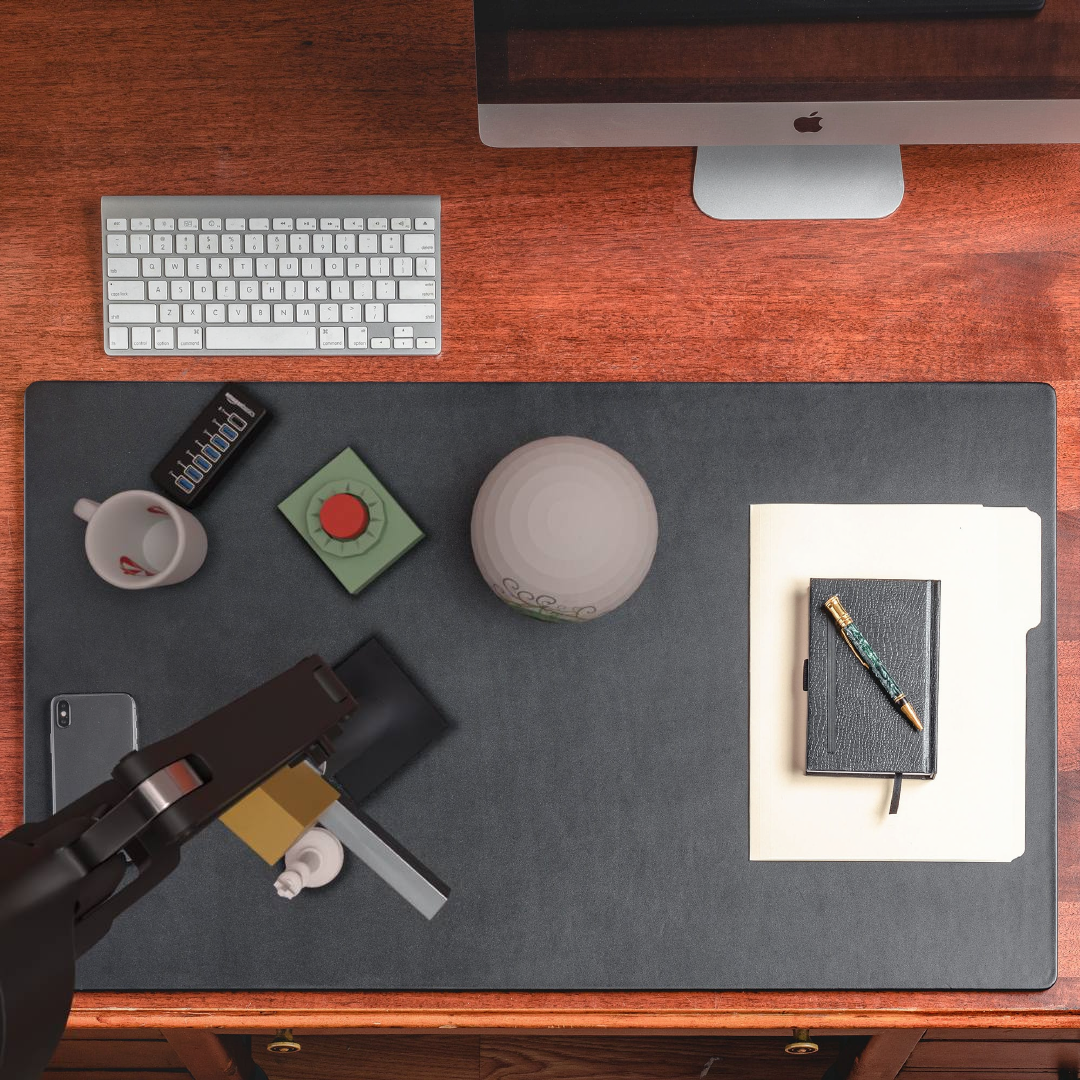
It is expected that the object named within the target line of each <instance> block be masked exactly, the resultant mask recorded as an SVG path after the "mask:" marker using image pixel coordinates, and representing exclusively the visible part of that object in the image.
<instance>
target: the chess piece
mask: <svg viewBox="0 0 1080 1080" xmlns="http://www.w3.org/2000/svg"><path fill="white" fill-rule="evenodd" d="M284 863H285V869H284V871H283V872H282V873H280V874H279V875H278V877H277V879H276V881H275V882H274V883H273V886H274V887H275V888H276V891H277V894H278V895H279V897H281V898H282V897H283V898H288V899H289V900H292V898H294V897H296V896H298V894H299V893H300V892H301V891H302V889H303V888H305V887H306V888H320V887H323V886H324V885H326V884H328V883H330V882H332V881H333V880H334V879H335V878H336V877H337V876H338V874H339V873H340V871H341V869H342V867H343V863H344V848H343V845H342V842H341V841H340V840H338V839H337V838H336V837H335V836H334V835H333V834H332V833H331V832H330V831H328V830H327V829H326V828H325V827H319V826H314V827H313V828H312V829H311V830H310V831H309V832H308V833H307V834H306V835H305V836H304V837H303V838H302V839H301V840H300V841H298V842H297V843H296V844H295V845H294V846H293V847H292V848H291V849H290V850H289V851H288V852H287V853H286V854H285V855H284Z"/></svg>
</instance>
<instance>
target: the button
mask: <svg viewBox="0 0 1080 1080" xmlns="http://www.w3.org/2000/svg"><path fill="white" fill-rule="evenodd" d="M320 520H321V524H322V526H323V528H324V529H325V530H326V531H327V532H328V533H329V534H331V535H333V536H335V537H338V538H341V539H350V538H354V537H356V536H358V535H359V534H360V533H361V532H362V531H363V530H364V528H365V526H366V523H367V512H366V509H365V507H364V506H363V504H362V503H361V502H360V501H358V500H357V499H355V498H354V497H352V496H350V495H346V494H338V495H335V496H332V497H330V498H329V499H328V500H327V501H326V502H325V503H324V504H323V506H322V508H321V512H320Z"/></svg>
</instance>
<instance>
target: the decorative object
mask: <svg viewBox="0 0 1080 1080" xmlns="http://www.w3.org/2000/svg"><path fill="white" fill-rule="evenodd" d="M658 537H659V522H658V513H657V508H656V505H655V501H654V498H653V495H652V493H651V491H650V488H649V486H648V485H647V483H646V481H645V479H644V478H643V477H642V475H641V473H640V472H639V471H638V470H637V469H636V467H635V465H633V464H632V463H631V462H630V461H629V460H628V459H626V458H625V457H624V456H623V455H622V454H621V453H619V452H618V451H616V450H614V449H613V448H611V447H609V446H608V445H605V443H601V442H598V441H596V440H593V439H589V438H587V437H579V436H573V435H559V436H548V437H545V438H541V439H536V440H532V441H531V442H528V443H526V444H524V445H522V446H520V447H517V448H516V449H515V450H513V451H511V452H510V453H508V454H507V455H506V456H505V457H504V458H502V459H501V460H500V461H499V462H498V463H497V464H496V465H495V467H493V469H492V470H490V472H489V473H488V475H487V476H486V478H485V480H484V482H483V483H482V485H481V487H480V488H479V491H478V494H477V496H476V499H475V502H474V504H473V507H472V515H471V522H470V540H471V541H470V542H471V547H472V551H473V556H474V559H475V563H476V565H477V567H478V569H479V572H480V573H481V575H482V578H483V579H484V581H485V582H486V583H487V585H488V586H489V587H490V589H491V590H492V592H493V593H494V594H495V595H496V596H497V597H498V598H500V599H501V600H502V601H503V603H505V604H506V605H507V606H508V607H510V608H512V609H513V610H515V611H516V612H519V613H520V614H522V615H524V616H527V617H529V618H531V619H535V620H538V621H540V622H545V623H552V624H559V625H563V624H564V625H566V624H579V623H584V622H587V621H591V620H595V619H598V618H600V617H602V616H604V615H606V614H608V613H610V612H612V611H614V610H615V609H617V608H618V607H620V606H621V605H622V604H623V603H625V602H626V601H627V600H629V599H630V598H631V596H632V595H633V594H634V593H635V592H636V590H638V589H639V587H640V586H641V584H642V583H643V581H644V579H645V578H646V576H647V575H648V572H649V571H650V568H651V566H652V563H653V560H654V557H655V555H656V551H657V545H658Z"/></svg>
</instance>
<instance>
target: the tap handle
mask: <svg viewBox="0 0 1080 1080" xmlns="http://www.w3.org/2000/svg"><path fill="white" fill-rule="evenodd" d="M218 820H219V821H221V822H222V823H223V824H224V825H225V826H226V827H227V828H229V829H230V830H231V831H232V832H233V833H234V834H235V835H236V836H238V838H240V839H241V840H242V841H243V842H244V843H245V844H246V845H248V847H249V848H251V850H253V851H254V852H255V853H256V854H257V855H258V856H259V857H261V858H262V859H263V860H264V861H265V862H266V863H267V864H268V865H269V866H271V867H272V866H274V865H276V864H277V862H279V860H280V859H282V858H283V857H285V854H286V853H287V852H288V851H289V850H290V849H291V848H292V847H293V846H294V845H295V844H296V843H297V842H298V841H300V840H301V839H302V838H303V837H304V836H305V835H306V834H307V833H308V832H309V831H310V830H311V829H312V828H313V827H316V825H317V824H318V823H319V824H320V825H321V826H322V827H323V828H324V829H326V830H328V831H330V832H331V833H332V834H333V835H334V836H335V837H336V838H337V839H338V840H339V841H340V843H341V844H343V845H344V846H345V847H346V848H347V849H348V850H349V851H351V852H352V853H353V854H354V855H355V856H356V857H357V858H358V859H359V860H360V861H362V862H363V863H364V864H365V865H366V866H367V867H369V868H370V869H371V870H372V871H373V873H375V874H376V875H377V876H379V878H381V879H382V880H383V881H384V882H385V883H386V884H387V885H389V886H390V887H391V888H392V889H393V890H394V891H395V892H396V893H397V894H399V895H400V896H401V897H402V898H403V899H404V900H405V901H406V902H408V903H409V904H410V905H411V906H412V907H413V908H414V909H415V910H416V911H418V912H419V914H421V915H422V916H423V917H424V918H425V919H426V920H428V921H429V922H431V921H432V920H433V919H434V918H435V916H436V915H437V914H438V913H439V912H440V911H441V909H442V908H443V907H444V906H445V905H446V904H447V902H448V901H449V898H450V895H451V891H452V888H451V887H450V886H449V885H448V884H447V883H445V882H444V881H443V879H441V878H439V876H438V875H436V873H434V872H433V871H432V870H431V869H429V867H427V866H426V865H425V864H424V863H423V862H422V861H420V860H419V859H418V857H416V856H415V855H414V854H413V853H412V852H410V851H409V849H407V848H406V847H405V846H404V845H403V844H402V843H400V842H399V841H398V839H396V838H395V837H394V836H393V835H391V834H390V833H389V831H387V830H386V829H385V828H383V826H382V825H381V824H379V823H378V822H377V821H375V820H374V819H373V818H372V816H370V815H369V814H368V813H367V812H366V811H364V809H362V808H361V807H360V806H359V804H357V803H356V802H355V801H353V800H352V799H351V798H350V797H349V796H348V795H346V794H345V793H344V792H343V791H342V790H341V789H340V788H338V786H336V785H335V784H334V783H333V782H332V781H331V780H330V779H327V778H326V777H325V776H324V775H323V774H322V773H321V772H319V771H318V770H317V769H316V768H315V767H314V766H313V765H312V764H311V763H309V762H308V761H307V760H304V761H303V762H301V763H300V764H298V765H297V766H295V767H293V768H292V769H291V768H290V767H289V766H288V765H287V766H286V767H284V768H283V769H282V770H280V771H279V772H278V773H277V774H275V775H274V776H273V777H271V778H270V779H269V780H267V781H266V782H265V783H263V784H262V785H261V786H260V787H258V788H257V789H256V790H254V791H253V792H252V793H250V794H249V795H248V796H246V797H245V798H244V799H243V800H241V801H240V802H239V803H237V804H236V805H235V806H233V807H232V808H231V809H229V810H228V811H227V812H226V813H224V814H223V815H222V816H220V817H219V818H218Z"/></svg>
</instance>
